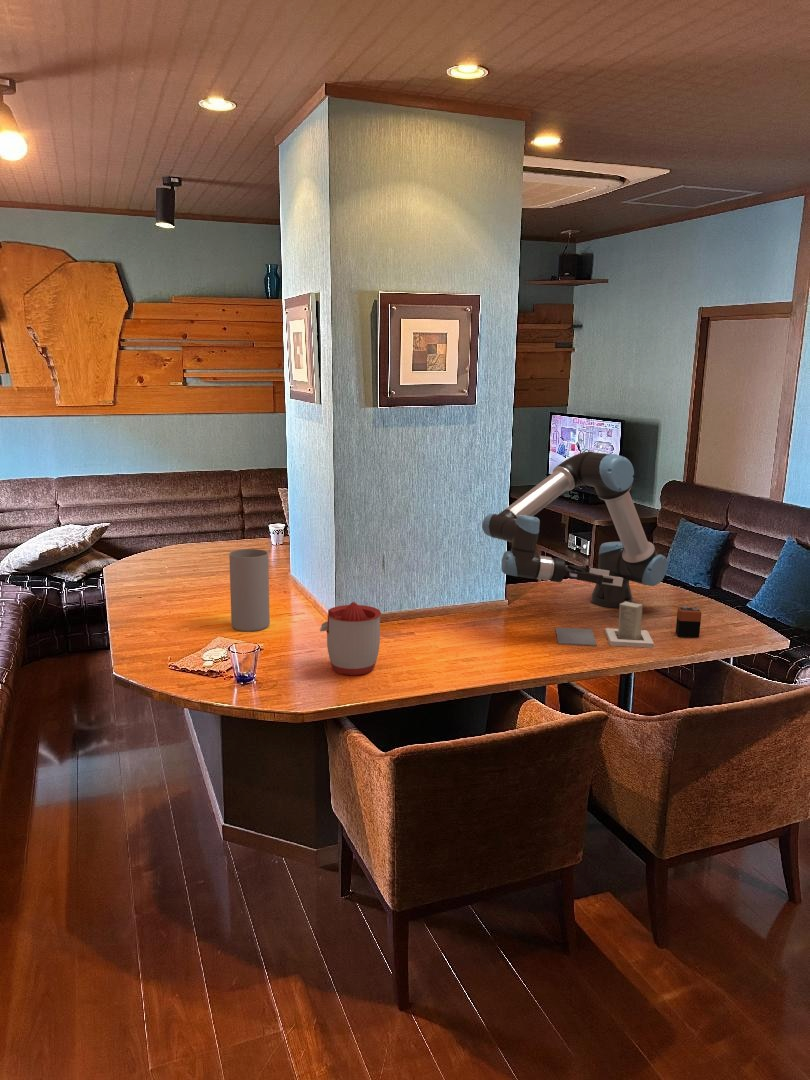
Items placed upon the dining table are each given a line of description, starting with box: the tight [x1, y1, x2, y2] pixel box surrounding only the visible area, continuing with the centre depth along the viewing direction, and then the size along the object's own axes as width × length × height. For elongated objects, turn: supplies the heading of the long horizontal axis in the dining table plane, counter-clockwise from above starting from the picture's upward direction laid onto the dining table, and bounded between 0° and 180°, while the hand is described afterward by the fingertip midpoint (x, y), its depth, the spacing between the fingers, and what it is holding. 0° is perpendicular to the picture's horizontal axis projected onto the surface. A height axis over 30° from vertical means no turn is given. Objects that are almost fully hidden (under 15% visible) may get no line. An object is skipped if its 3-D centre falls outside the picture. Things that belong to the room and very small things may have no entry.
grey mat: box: [554, 626, 598, 647], centre depth 264 cm, size 16×12×1 cm
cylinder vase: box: [228, 548, 271, 632], centre depth 267 cm, size 12×12×25 cm
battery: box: [675, 605, 702, 639], centre depth 267 cm, size 4×7×10 cm, turn 85°
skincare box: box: [617, 601, 643, 640], centre depth 261 cm, size 6×4×12 cm
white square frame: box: [604, 627, 655, 649], centre depth 262 cm, size 13×13×2 cm
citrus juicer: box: [319, 601, 382, 676], centre depth 231 cm, size 16×17×20 cm
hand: (615, 578), depth 259 cm, fingers open, 13 cm apart
